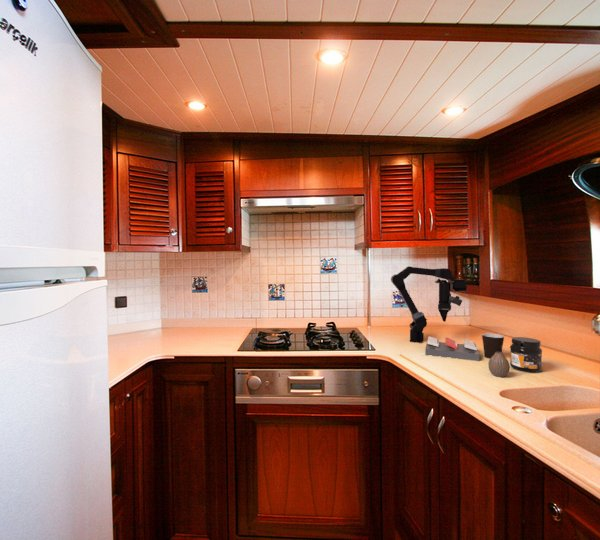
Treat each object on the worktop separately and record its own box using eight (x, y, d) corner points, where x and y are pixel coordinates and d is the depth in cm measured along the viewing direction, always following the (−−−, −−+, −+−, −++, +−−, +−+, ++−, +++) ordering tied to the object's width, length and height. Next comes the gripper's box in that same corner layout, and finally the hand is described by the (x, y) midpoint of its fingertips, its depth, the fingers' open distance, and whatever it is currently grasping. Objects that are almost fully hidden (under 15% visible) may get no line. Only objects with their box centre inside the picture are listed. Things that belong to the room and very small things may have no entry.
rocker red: (445, 344, 148) (446, 341, 147) (445, 339, 158) (446, 336, 157) (456, 349, 146) (457, 347, 145) (455, 343, 156) (456, 341, 155)
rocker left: (427, 343, 151) (427, 340, 151) (428, 338, 161) (428, 336, 161) (438, 346, 149) (438, 344, 149) (438, 341, 159) (439, 339, 159)
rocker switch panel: (425, 355, 147) (425, 348, 147) (427, 346, 162) (427, 340, 162) (479, 361, 138) (479, 353, 138) (475, 351, 153) (476, 345, 152)
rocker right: (464, 347, 144) (465, 344, 144) (463, 341, 154) (463, 339, 154) (476, 350, 142) (477, 347, 142) (474, 344, 152) (475, 342, 152)
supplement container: (509, 370, 126) (510, 340, 126) (510, 363, 135) (510, 335, 135) (542, 375, 120) (543, 344, 120) (540, 367, 129) (541, 338, 129)
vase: (484, 372, 124) (484, 350, 123) (500, 372, 124) (501, 349, 124) (496, 379, 117) (496, 355, 117) (514, 378, 117) (514, 355, 117)
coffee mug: (496, 361, 138) (496, 338, 137) (477, 356, 145) (477, 334, 145) (511, 357, 143) (512, 335, 143) (492, 352, 151) (493, 332, 150)
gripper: (462, 293, 159) (461, 324, 159) (460, 290, 176) (460, 318, 176) (438, 292, 163) (437, 322, 164) (438, 289, 180) (438, 317, 181)
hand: (444, 320), depth 171 cm, fingers open, 9 cm apart
